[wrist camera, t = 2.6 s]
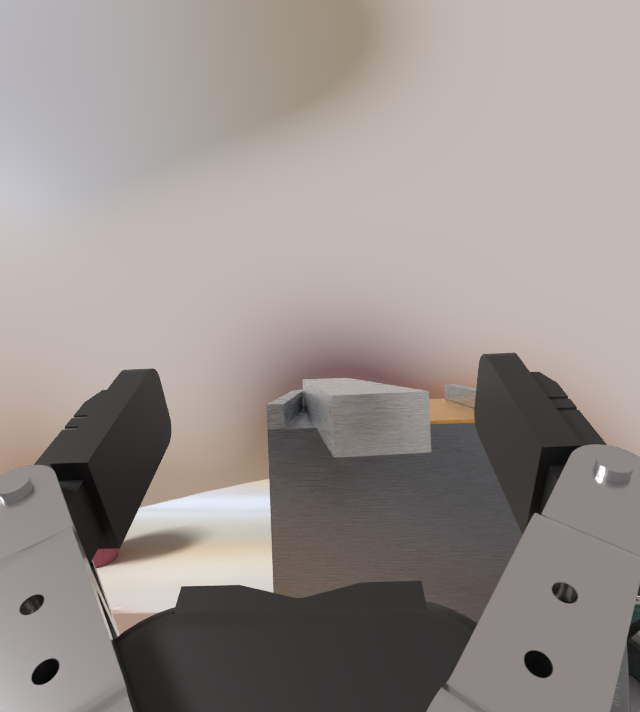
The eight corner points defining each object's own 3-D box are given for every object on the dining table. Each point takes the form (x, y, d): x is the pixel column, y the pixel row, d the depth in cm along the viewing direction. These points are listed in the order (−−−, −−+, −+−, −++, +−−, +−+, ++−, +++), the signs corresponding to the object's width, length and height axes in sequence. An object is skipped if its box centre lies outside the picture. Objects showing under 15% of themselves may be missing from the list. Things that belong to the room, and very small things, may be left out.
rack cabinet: (307, 753, 44) (293, 390, 45) (475, 752, 43) (458, 384, 44) (287, 974, 28) (266, 404, 29) (553, 979, 27) (525, 395, 28)
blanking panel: (303, 407, 43) (302, 379, 43) (347, 405, 43) (346, 377, 43) (334, 457, 19) (331, 395, 19) (431, 452, 20) (428, 391, 20)
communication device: (611, 594, 72) (608, 535, 72) (768, 703, 48) (762, 615, 49) (534, 598, 72) (531, 539, 72) (654, 712, 48) (649, 622, 48)
